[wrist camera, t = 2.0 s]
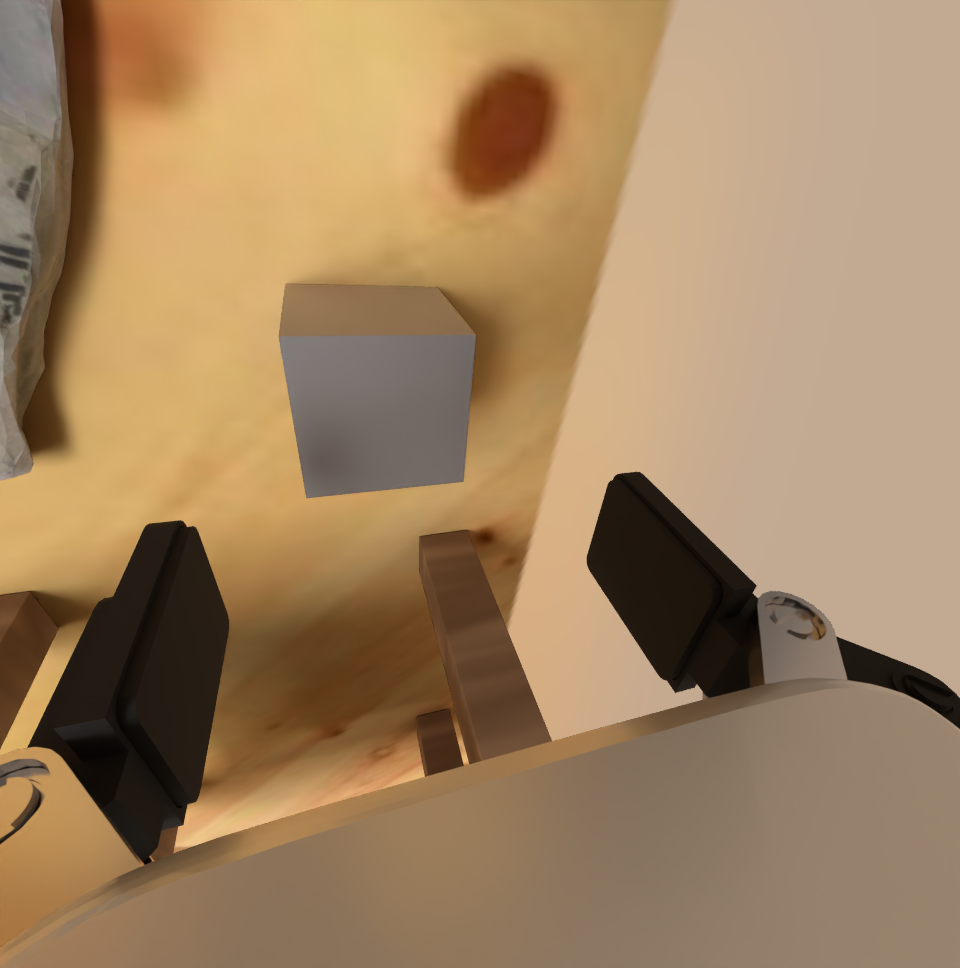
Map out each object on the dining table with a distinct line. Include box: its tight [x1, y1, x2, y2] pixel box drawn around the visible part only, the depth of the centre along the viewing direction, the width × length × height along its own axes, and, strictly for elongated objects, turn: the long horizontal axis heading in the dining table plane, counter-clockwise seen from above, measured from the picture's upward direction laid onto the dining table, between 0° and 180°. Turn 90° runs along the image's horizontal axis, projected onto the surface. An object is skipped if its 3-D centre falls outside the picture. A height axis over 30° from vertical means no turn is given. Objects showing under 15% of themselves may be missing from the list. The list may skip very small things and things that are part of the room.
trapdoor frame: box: [0, 530, 552, 861], centre depth 22 cm, size 21×21×12 cm
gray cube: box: [279, 284, 476, 498], centre depth 15 cm, size 5×5×5 cm
